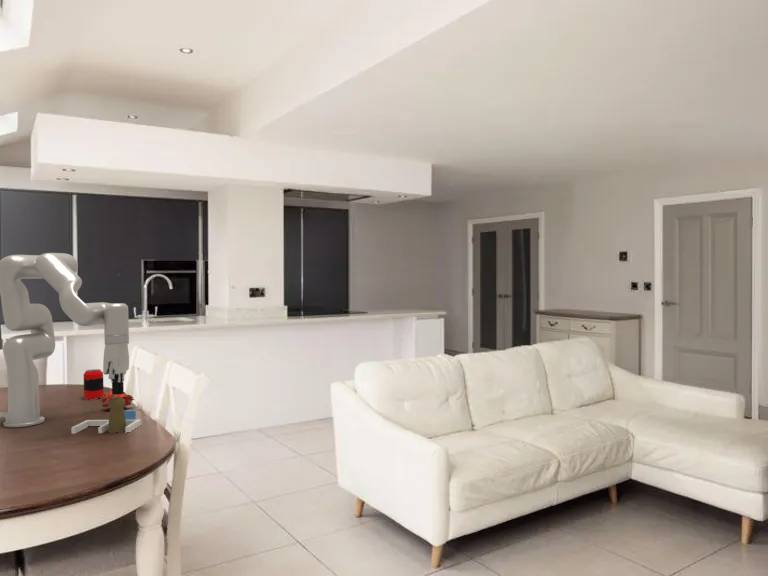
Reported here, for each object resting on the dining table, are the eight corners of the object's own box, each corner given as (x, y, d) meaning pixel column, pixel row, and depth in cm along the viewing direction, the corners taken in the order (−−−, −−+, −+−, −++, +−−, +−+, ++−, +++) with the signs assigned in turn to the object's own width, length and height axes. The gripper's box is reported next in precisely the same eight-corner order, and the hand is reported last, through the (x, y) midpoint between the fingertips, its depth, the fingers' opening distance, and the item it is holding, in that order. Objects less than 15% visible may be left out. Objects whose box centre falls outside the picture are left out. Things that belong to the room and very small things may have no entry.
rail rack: (71, 433, 201) (71, 418, 201) (87, 425, 212) (87, 411, 212) (129, 432, 201) (128, 417, 200) (142, 424, 212) (142, 410, 211)
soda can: (85, 400, 253) (84, 372, 253) (83, 397, 259) (82, 370, 259) (105, 398, 257) (104, 370, 257) (102, 395, 264) (101, 368, 263)
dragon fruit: (98, 414, 235) (131, 416, 239) (98, 405, 228) (132, 407, 232) (102, 394, 239) (134, 396, 244) (102, 385, 233) (135, 387, 237)
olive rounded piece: (119, 433, 200) (119, 400, 200) (103, 432, 201) (102, 399, 201) (130, 428, 206) (130, 396, 206) (115, 428, 207) (114, 396, 207)
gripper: (115, 337, 211) (116, 389, 212) (95, 342, 196) (96, 398, 197) (137, 337, 211) (138, 389, 212) (118, 342, 196) (119, 398, 197)
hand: (117, 393), depth 204 cm, fingers closed
